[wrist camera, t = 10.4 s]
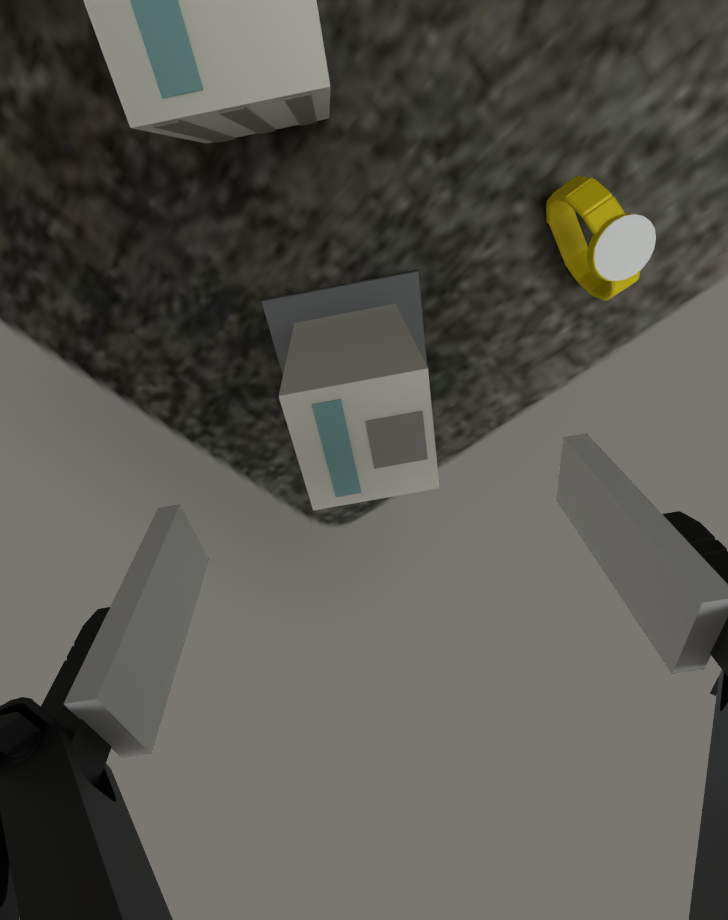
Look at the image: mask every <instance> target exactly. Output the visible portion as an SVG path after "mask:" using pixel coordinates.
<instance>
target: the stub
mask: <svg viewBox="0 0 728 920" xmlns="http://www.w3.org/2000/svg"><path fill="white" fill-rule="evenodd" d="M279 399H280V403H281V406H282V409H283V412H284V416H285V419H286V422H287V426H288V429H289V432H290V435H291V439H292V442H293V445H294V449H295V452H296V455H297V458H298V462H299V465H300V468H301V472H302V475H303V478H304V481H305V485H306V488H307V491H308V495H309V498H310V501H311V504H312V508H313V510H319V509H324V508H330V507H336V506H341V505H347V504H353V503H358V502H364V501H370V500H375V499H381V498H386V497H392V496H398V495H403V494H409V493H414V492H420V491H426V490H431V489H437V488H439V480H438V469H437V458H436V448H435V437H434V427H433V416H432V406H431V395H430V384H429V374H428V367H427V365H426V363H425V361H424V359H423V357H422V355H421V353H420V351H419V349H418V347H417V345H416V343H415V341H414V339H413V337H412V335H411V333H410V331H409V329H408V327H407V326H406V324H405V322H404V320H403V318H402V316H401V314H400V312H399V310H398V308H397V306H396V304H391V305H386V306H380V307H375V308H370V309H365V310H360V311H354V312H349V313H344V314H339V315H334V316H328V317H323V318H318V319H313V320H308V321H302V322H297V323H294V327H293V331H292V336H291V341H290V345H289V350H288V355H287V359H286V364H285V369H284V373H283V378H282V383H281V387H280V392H279Z"/></svg>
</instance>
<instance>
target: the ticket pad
mask: <svg viewBox="0 0 728 920" xmlns="http://www.w3.org/2000/svg"><path fill="white" fill-rule="evenodd" d="M83 1H84V4H85V6H86V9H87V12H88V14H89V17H90V20H91V22H92V25H93V28H94V31H95V33H96V36H97V39H98V41H99V44H100V47H101V50H102V52H103V55H104V58H105V60H106V63H107V66H108V69H109V71H110V74H111V77H112V79H113V82H114V85H115V88H116V90H117V93H118V96H119V98H120V101H121V104H122V106H123V109H124V112H125V115H126V117H127V120H128V123H129V125H130V128H133V129H138V130H143V131H147V132H152V133H157V134H162V135H167V136H172V137H177V138H182V139H187V140H192V141H197V142H202V143H207V144H208V143H212V142H218V143H220V142H225V141H230V140H234V139H235V138H237V137H242V136H247V135H251V134H256V133H258V134H264V133H269V132H273V131H276V129H281V128H286V127H290V126H295V125H300V126H303V125H307V124H312V123H317V121H320V120H325V119H329V110H330V82H329V75H328V69H327V63H326V57H325V51H324V44H323V38H322V32H321V26H320V20H319V13H318V7H317V1H316V0H83Z"/></svg>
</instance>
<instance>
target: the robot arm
mask: <svg viewBox="0 0 728 920" xmlns="http://www.w3.org/2000/svg"><path fill="white" fill-rule="evenodd" d="M557 502H558V503H559V505H560V506H561V508H562V509H563V511H564V512H565V514H566V515H567V517H568V518H569V520H570V521H571V523H572V524H573V526H574V527H575V529H576V530H577V532H578V533H579V535H580V536H581V538H582V539H583V541H584V542H585V544H586V545H587V547H588V548H589V550H590V551H591V553H592V554H593V556H594V557H595V559H596V560H597V562H598V563H599V565H600V566H601V568H602V569H603V571H604V572H605V574H606V575H607V577H608V578H609V580H610V581H611V583H612V584H613V586H614V587H615V589H616V590H617V592H618V593H619V595H620V596H621V598H622V599H623V601H624V602H625V604H626V605H627V607H628V608H629V610H630V611H631V613H632V614H633V616H634V617H635V619H636V620H637V622H638V623H639V625H640V626H641V628H642V629H643V631H644V632H645V634H646V635H647V637H648V638H649V640H650V641H651V643H652V644H653V646H654V647H655V649H656V650H657V652H658V653H659V655H660V656H661V658H662V659H663V661H664V662H665V664H666V665H667V667H668V668H669V670H670V671H671V673H672V674H676V673H682V672H688V671H695V670H702V669H704V668H705V666H706V664H707V662H708V660H709V658H710V656H712V657H713V658H714V659H715V661H716V662H717V663H718V665H719V666H720V667H721V669H722V671H721V673H720V675H719V677H718V678H717V681H716V682H715V684H714V686H713V688H712V690H711V692H710V694H713V695H715V696H716V694H717V696H716V704H715V713H714V720H713V728H712V736H711V745H710V753H709V761H708V768H707V777H706V785H705V794H704V802H703V809H702V817H701V825H700V833H699V841H698V850H697V858H696V866H695V874H694V882H693V890H692V898H691V906H690V914H689V920H728V552H727V549H726V548H725V547H724V546H723V545H722V544H721V543H720V542H719V541H718V540H715V537H714V536H713V535H712V534H711V533H710V532H709V531H708V530H707V529H706V528H705V527H704V526H703V525H702V524H701V523H700V522H698V521H696V520H694V519H693V518H691V517H689V516H687V515H686V514H684V513H682V512H679V511H678V512H672V513H667V514H661V513H660V512H659V510H658V509H657V508H656V507H655V506H654V505H653V504H652V503H651V502H650V501H649V500H648V499H647V497H646V496H644V494H643V493H642V492H641V491H640V490H639V489H638V488H637V487H636V486H635V485H634V484H633V483H632V481H631V480H630V479H629V478H628V477H627V476H626V475H625V474H624V473H623V472H622V471H621V470H620V469H619V468H618V467H617V465H616V464H615V463H614V462H613V461H612V460H611V459H610V458H609V457H608V456H607V455H606V454H605V453H604V452H603V451H602V450H601V448H600V447H599V446H598V445H597V444H596V443H595V442H594V441H593V440H592V439H591V438H590V437H589V435H588V434H580V435H574V436H569V437H564V438H563V445H562V455H561V464H560V474H559V483H558V493H557ZM208 560H209V559H208V557H207V555H206V553H205V551H204V550H203V547H202V546H201V544H200V542H199V540H198V538H197V536H196V534H195V532H194V530H193V528H192V527H191V525H190V523H189V521H188V519H187V517H186V516H185V513H184V512H183V509H182V508H181V506H180V505H173V506H167V507H162V508H158V509H157V512H156V514H155V516H154V518H153V520H152V522H151V524H150V526H149V528H148V530H147V532H146V534H145V537H144V538H143V541H142V543H141V545H140V547H139V549H138V551H137V553H136V555H135V557H134V559H133V561H132V563H131V566H130V567H129V569H128V572H127V574H126V576H125V578H124V580H123V582H122V584H121V586H120V588H119V590H118V592H117V594H116V596H115V599H114V600H113V603H112V605H111V607H108V608H102V609H98V610H97V611H96V612H95V613H94V614H93V615H92V616H91V618H90V619H89V620H88V621H87V622H86V623H85V624H84V625H83V627H82V629H81V631H80V633H79V635H78V637H77V638H76V640H75V642H74V646H72V648H71V650H70V652H69V654H68V656H67V661H65V662H64V664H63V665H62V667H61V669H60V671H59V673H58V675H57V677H56V679H55V681H54V682H53V684H52V686H51V688H50V690H49V692H48V694H47V696H46V698H45V700H44V702H43V704H42V706H41V707H40V706H39V705H38V704H37V703H36V702H34V701H33V700H32V699H30V698H24V697H21V698H18V699H14V700H11V701H9V702H7V703H5V704H3V705H2V706H0V920H19V916H20V920H173V919H172V917H171V915H170V912H169V910H168V907H167V905H166V902H165V900H164V898H163V895H162V893H161V890H160V888H159V885H158V883H157V881H156V878H155V875H154V873H153V871H152V868H151V866H150V863H149V861H148V858H147V856H146V854H145V851H144V849H143V846H142V844H141V841H140V839H139V836H138V834H137V832H136V829H135V827H134V824H133V822H132V819H131V817H130V814H129V812H128V809H127V807H126V805H125V802H124V800H123V797H122V795H121V792H120V790H119V788H118V785H117V783H116V780H115V778H114V775H113V773H112V770H111V769H110V767H109V766H108V765H107V764H106V761H107V758H108V755H109V752H110V750H111V748H112V749H113V750H114V751H115V752H116V753H117V754H118V755H119V756H121V757H122V758H126V757H132V756H139V755H145V754H151V753H152V749H153V746H154V743H155V739H156V736H157V732H158V729H159V725H160V722H161V719H162V716H163V712H164V709H165V705H166V702H167V699H168V695H169V692H170V689H171V685H172V682H173V678H174V675H175V672H176V668H177V665H178V662H179V658H180V655H181V651H182V648H183V645H184V641H185V638H186V634H187V631H188V628H189V624H190V621H191V617H192V614H193V611H194V608H195V604H196V600H197V597H198V594H199V591H200V587H201V584H202V580H203V577H204V574H205V570H206V567H207V563H208Z"/></svg>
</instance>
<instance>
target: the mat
mask: <svg viewBox="0 0 728 920" xmlns="http://www.w3.org/2000/svg"><path fill="white" fill-rule="evenodd" d="M391 304H396V306H397V308H398V310H399V312H400V314H401V316H402V318H403V320H404V322H405V324H406V326H407V327H408V329H409V331H410V333H411V335H412V337H413V339H414V341H415V343H416V345H417V347H418V349H419V351H420V353H421V355H422V357H423V359H424V361H425V363H426V365H427V358H426V348H425V337H424V326H423V315H422V305H421V294H420V283H419V272H418V270H415V271H410V272H405V273H399V274H394V275H389V276H384V277H379V278H373V279H368V280H363V281H358V282H353V283H347V284H342V285H337V286H332V287H327V288H321V289H316V290H311V291H306V292H301V293H295V294H290V295H285V296H280V297H275V298H269V299H264V300H262V305H263V308H264V312H265V315H266V319H267V322H268V326H269V329H270V333H271V336H272V340H273V343H274V347H275V350H276V354H277V357H278V361H279V364H280V368H281V371H282V375H283V373H284V369H285V364H286V359H287V355H288V350H289V345H290V341H291V336H292V331H293V327H294V323H297V322H302V321H308V320H313V319H318V318H323V317H328V316H334V315H339V314H344V313H349V312H354V311H360V310H365V309H370V308H375V307H380V306H386V305H391Z"/></svg>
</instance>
